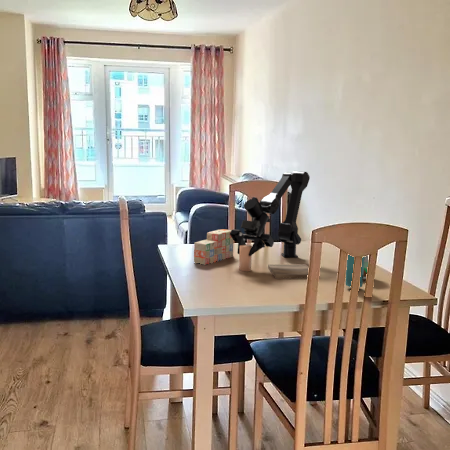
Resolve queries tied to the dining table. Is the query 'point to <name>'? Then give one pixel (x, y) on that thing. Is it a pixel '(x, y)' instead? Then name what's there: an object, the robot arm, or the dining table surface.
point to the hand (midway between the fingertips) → (243, 254)
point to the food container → (365, 267)
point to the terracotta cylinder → (245, 258)
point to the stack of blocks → (214, 247)
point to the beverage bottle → (350, 271)
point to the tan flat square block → (289, 270)
